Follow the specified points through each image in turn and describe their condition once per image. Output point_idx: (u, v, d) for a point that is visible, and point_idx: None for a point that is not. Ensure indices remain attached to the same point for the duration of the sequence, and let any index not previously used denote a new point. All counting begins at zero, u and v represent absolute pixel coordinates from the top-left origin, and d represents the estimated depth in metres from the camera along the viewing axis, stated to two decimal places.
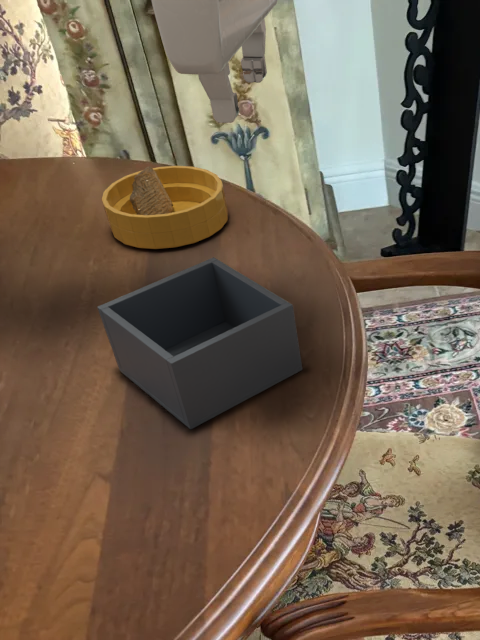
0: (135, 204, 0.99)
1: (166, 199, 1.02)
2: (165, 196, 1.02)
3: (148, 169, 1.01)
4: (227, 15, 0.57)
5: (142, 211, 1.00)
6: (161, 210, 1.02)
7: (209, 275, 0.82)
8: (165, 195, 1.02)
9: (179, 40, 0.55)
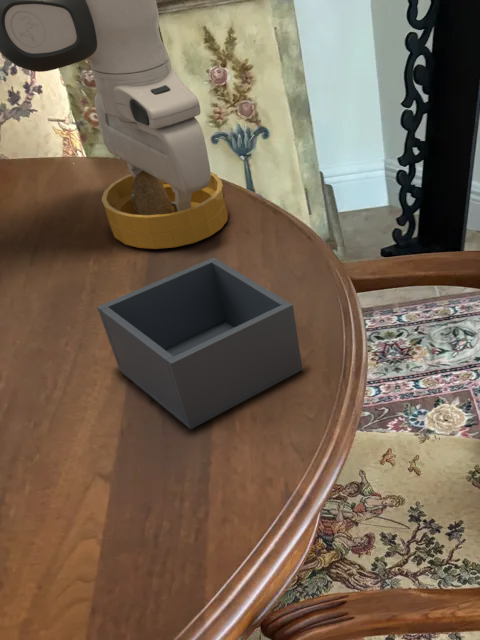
0: (135, 204, 0.99)
1: (166, 199, 1.02)
2: (165, 196, 1.02)
3: None
4: None
5: (142, 211, 1.00)
6: (160, 210, 1.02)
7: (209, 275, 0.82)
8: (165, 195, 1.02)
9: (192, 174, 0.92)
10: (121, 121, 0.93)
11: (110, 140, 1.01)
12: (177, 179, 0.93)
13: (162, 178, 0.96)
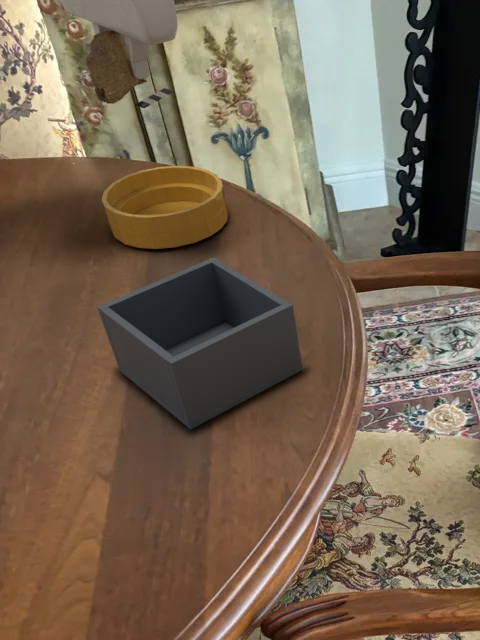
0: (90, 67, 0.87)
1: None
2: None
3: (114, 31, 0.88)
4: None
5: (97, 77, 0.87)
6: (122, 80, 0.89)
7: (209, 275, 0.82)
8: None
9: (155, 19, 0.80)
10: None
11: None
12: (138, 26, 0.81)
13: (122, 30, 0.84)
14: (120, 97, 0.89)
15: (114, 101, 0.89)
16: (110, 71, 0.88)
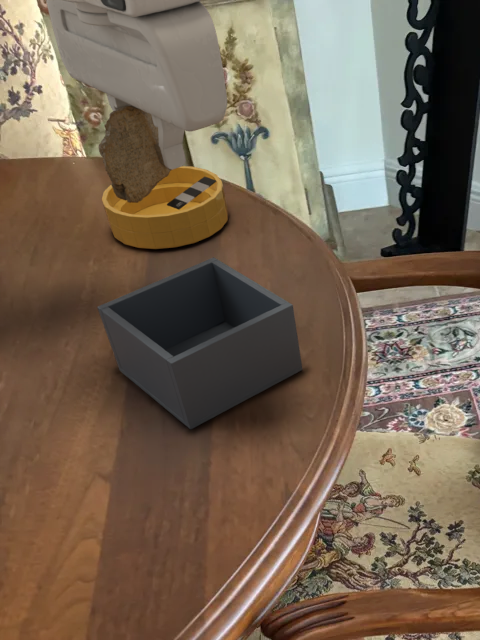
0: (105, 157, 0.63)
1: None
2: None
3: None
4: None
5: (115, 170, 0.64)
6: (148, 171, 0.65)
7: (209, 275, 0.82)
8: None
9: (198, 97, 0.57)
10: (83, 13, 0.57)
11: (70, 55, 0.65)
12: (173, 107, 0.57)
13: (150, 109, 0.60)
14: (146, 193, 0.66)
15: (138, 199, 0.65)
16: (132, 160, 0.64)
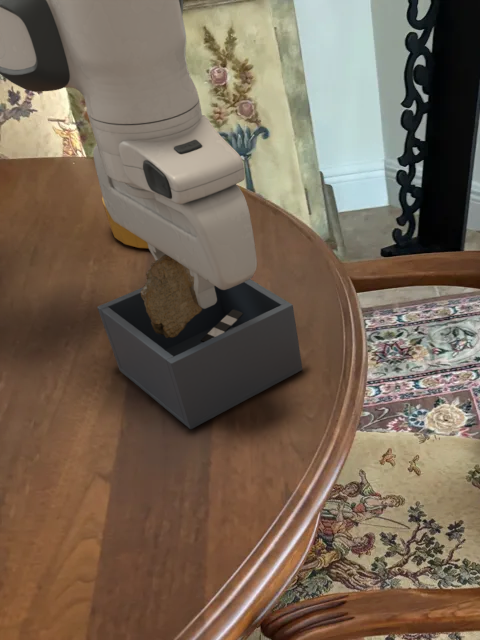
0: (146, 301, 0.71)
1: None
2: None
3: None
4: None
5: (155, 312, 0.71)
6: (184, 310, 0.73)
7: None
8: None
9: (232, 264, 0.64)
10: (130, 187, 0.65)
11: (114, 206, 0.73)
12: (210, 270, 0.65)
13: (188, 265, 0.68)
14: (181, 329, 0.73)
15: (174, 335, 0.73)
16: (170, 302, 0.72)
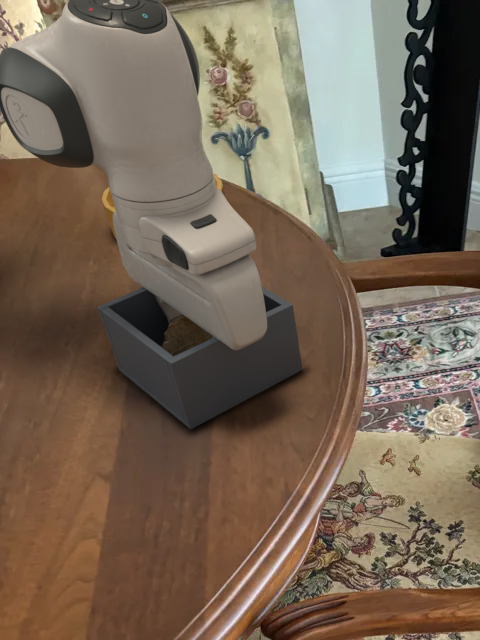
0: None
1: None
2: None
3: None
4: None
5: None
6: None
7: None
8: None
9: (244, 327, 0.69)
10: (149, 255, 0.69)
11: (132, 266, 0.77)
12: (223, 333, 0.70)
13: (202, 325, 0.72)
14: None
15: None
16: None
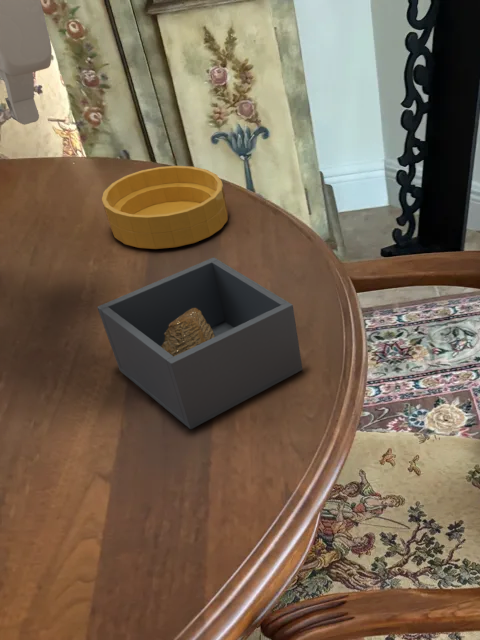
0: None
1: None
2: None
3: (191, 312, 0.77)
4: None
5: None
6: None
7: (209, 275, 0.82)
8: None
9: (17, 41, 0.58)
10: None
11: None
12: None
13: None
14: None
15: None
16: None
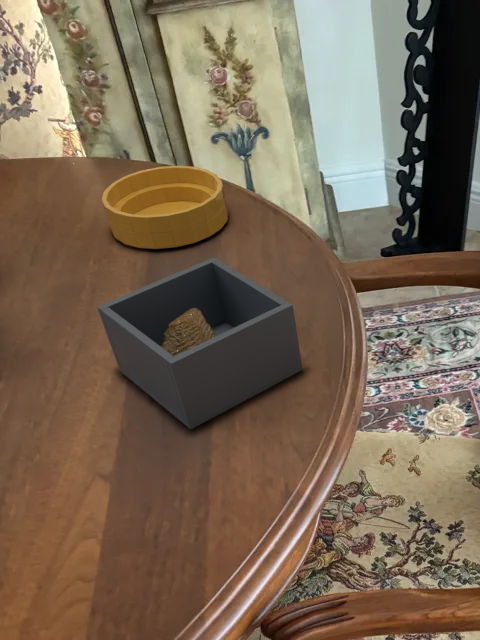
0: None
1: None
2: None
3: (191, 312, 0.77)
4: None
5: None
6: None
7: (209, 275, 0.82)
8: None
9: None
10: None
11: None
12: None
13: None
14: None
15: None
16: None
